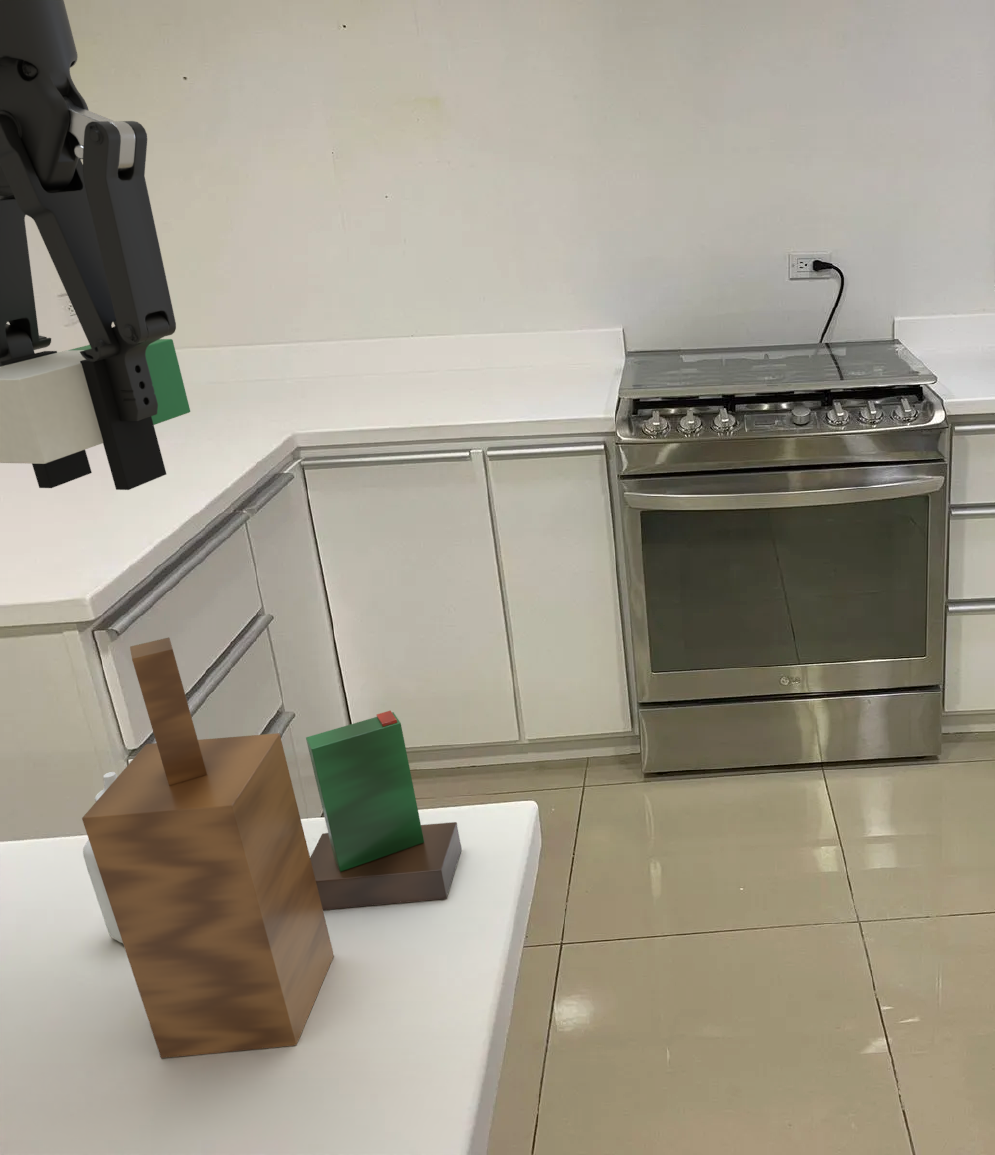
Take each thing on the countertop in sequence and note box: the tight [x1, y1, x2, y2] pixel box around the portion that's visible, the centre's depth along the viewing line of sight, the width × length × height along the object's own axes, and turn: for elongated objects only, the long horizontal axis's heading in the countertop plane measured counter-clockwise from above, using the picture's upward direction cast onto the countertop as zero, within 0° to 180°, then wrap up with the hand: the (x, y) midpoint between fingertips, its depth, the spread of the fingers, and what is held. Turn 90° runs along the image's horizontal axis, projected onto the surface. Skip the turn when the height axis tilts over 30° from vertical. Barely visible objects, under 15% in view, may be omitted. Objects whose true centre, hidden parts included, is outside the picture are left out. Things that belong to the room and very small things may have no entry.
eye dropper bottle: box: [82, 771, 123, 944], centre depth 77 cm, size 4×6×12 cm
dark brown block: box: [310, 821, 462, 911], centre depth 82 cm, size 10×6×2 cm, turn 94°
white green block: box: [0, 338, 191, 465], centre depth 57 cm, size 10×4×4 cm, turn 167°
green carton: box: [305, 710, 424, 872], centre depth 80 cm, size 6×2×10 cm, turn 122°
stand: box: [81, 637, 335, 1059], centre depth 67 cm, size 8×8×25 cm
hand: (103, 480), depth 58 cm, fingers closed on white green block, 4 cm apart
